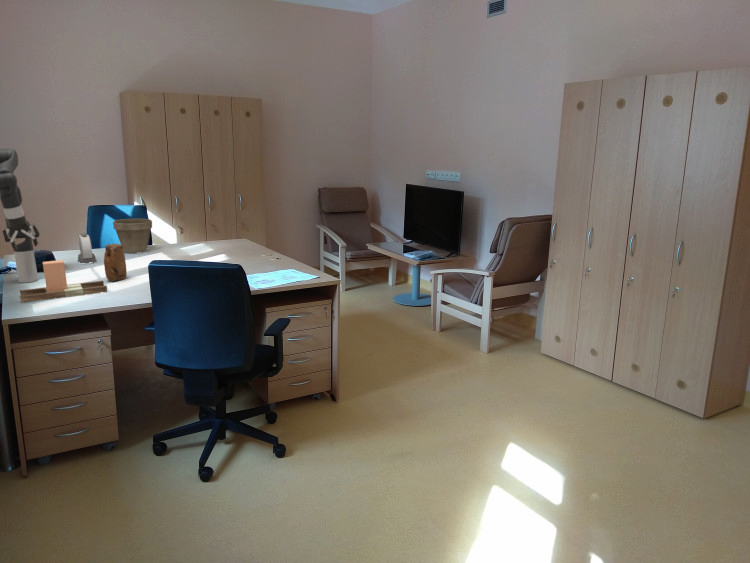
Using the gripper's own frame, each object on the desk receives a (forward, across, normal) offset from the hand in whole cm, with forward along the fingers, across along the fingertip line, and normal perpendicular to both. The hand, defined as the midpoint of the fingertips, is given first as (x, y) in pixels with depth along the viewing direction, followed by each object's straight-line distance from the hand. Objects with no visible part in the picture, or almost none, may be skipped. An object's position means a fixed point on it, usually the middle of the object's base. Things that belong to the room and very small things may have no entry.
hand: (26, 247), depth 268 cm
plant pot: (+50, -43, -101) cm, 120 cm away
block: (+34, -33, -21) cm, 52 cm away
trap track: (+28, -10, +1) cm, 29 cm away
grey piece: (+42, -15, -77) cm, 89 cm away
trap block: (+24, -7, +1) cm, 25 cm away
